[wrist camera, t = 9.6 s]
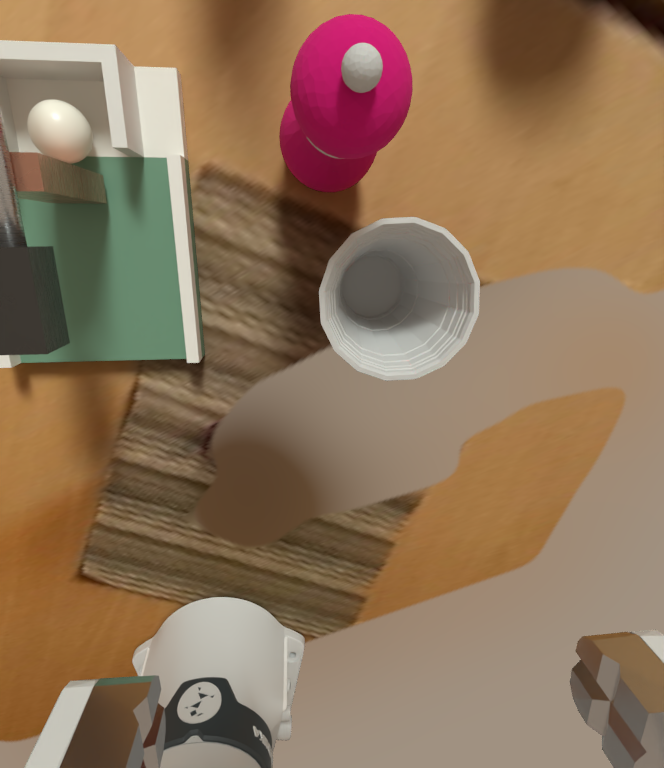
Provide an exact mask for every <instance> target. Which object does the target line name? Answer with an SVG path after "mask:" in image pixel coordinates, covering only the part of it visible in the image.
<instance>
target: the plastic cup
mask: <svg viewBox="0 0 664 768" xmlns="http://www.w3.org/2000/svg"><path fill="white" fill-rule="evenodd" d="M479 291H480V281H479V278H478V276H477V273H476V270H475V268H474V265H473V262H472V260H471V257H470V255H469V252H468V251H467V250H466V249H465V248H464V247H463V246H462V245H461V244H460V243H459V242H458V241H457V240H456V239H455V238H454V237H453V235H452V234H451V233H450V232H449V231H448V230H447V229H446V228H443V227H440V226H438V225H435V224H433V223H430V222H427V221H425V220H422V219H420V218H417V217H402V218H384V219H380V220H378V221H376V222H374V223H372V224H370V225H368V226H366V227H364V228H362V229H360V230H358V231H356V232H354V233H352V234H351V235H350V236H349V237H348V238H347V240H346V241H345V242H344V243H343V244H342V245H341V247H340V248H339V249H338V250H337V251H336V252H335V254H334V255H333V256H332V257H331V258H330V259H329V262H328V265H327V268H326V271H325V274H324V277H323V280H322V283H321V286H320V289H319V303H320V319H321V325H322V327H323V329H324V331H325V333H326V335H327V337H328V339H329V341H330V343H331V345H332V347H333V349H334V351H335V352H336V353H337V354H338V355H339V356H341V357H342V358H343V359H344V360H345V361H346V362H347V363H349V364H350V365H351V366H352V367H353V368H354V369H355V370H356V371H358V372H361V373H364V374H367V375H370V376H373V377H376V378H379V379H382V380H385V381H389V380H406V379H417V378H419V377H421V376H423V375H426V374H428V373H430V372H432V371H434V370H436V369H439V368H441V367H443V366H444V365H445V364H446V363H447V362H448V361H449V360H450V359H451V358H452V357H453V356H454V355H455V354H456V353H457V352H458V351H459V350H460V349H461V348H462V347H463V346H464V345H465V344H466V343H467V340H468V338H469V336H470V333H471V331H472V329H473V326H474V324H475V322H476V319H477V317H478V315H479Z"/></svg>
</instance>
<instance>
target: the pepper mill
mask: <svg viewBox="0 0 664 768" xmlns="http://www.w3.org/2000/svg"><path fill="white" fill-rule="evenodd" d="M290 89H291V101H290V102H289V104H288V106H287V108H286V110H285V112H284V115H283V118H282V121H281V126H280V147H281V151H282V155H283V158H284V160H285V163H286V165H287V166H288V168H289V170H290V171H291V172H292V174H293V175H294V176H295V177H296V178H297V179H298V180H299V181H300V182H301V183H303V184H304V185H306V186H307V187H309V188H312V189H314V190H317V191H322V192H337V191H342V190H345V189H347V188H350V187H351V186H353V185H354V184H356V183H357V182H358V181H359V180H361V179H362V178H363V177H364V175H365V174H366V173H367V172H368V170H369V168H370V166H371V165H372V163H373V161H374V158H375V156H376V153H377V151H379V150H380V149H382V148H383V147H385V146H386V145H387V144H388V143H389V142H390V141H391V140H392V139H393V138H394V136H395V135H396V134H397V132H398V131H399V129H400V128H401V126H402V125H403V123H404V120H405V118H406V116H407V113H408V110H409V107H410V102H411V96H412V74H411V68H410V64H409V61H408V58H407V54H406V52H405V50H404V48H403V46H402V45H401V43H400V41H399V40H398V39H397V37H396V36H395V35H394V33H393V32H392V31H391V30H390V29H389V28H388V27H386V26H385V25H384V24H382V23H380V22H379V21H377V20H375V19H373V18H370V17H367V16H364V15H354V14H348V15H343V16H338V17H335V18H333V19H331V20H329V21H327V22H325V23H323V24H321V25H320V26H319V27H318V28H317V29H316V30H315V31H313V32H312V33H311V34H310V35H309V37H308V38H307V39H306V41H305V42H304V43H303V45H302V47H301V48H300V50H299V52H298V55H297V57H296V60H295V62H294V66H293V70H292V77H291V84H290Z"/></svg>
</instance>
